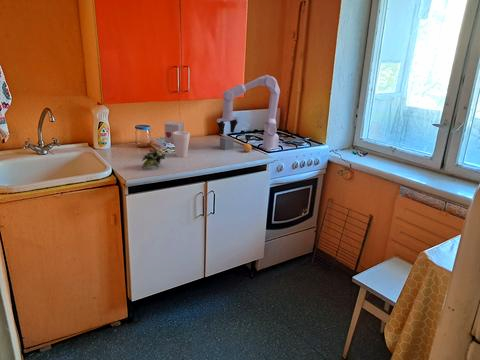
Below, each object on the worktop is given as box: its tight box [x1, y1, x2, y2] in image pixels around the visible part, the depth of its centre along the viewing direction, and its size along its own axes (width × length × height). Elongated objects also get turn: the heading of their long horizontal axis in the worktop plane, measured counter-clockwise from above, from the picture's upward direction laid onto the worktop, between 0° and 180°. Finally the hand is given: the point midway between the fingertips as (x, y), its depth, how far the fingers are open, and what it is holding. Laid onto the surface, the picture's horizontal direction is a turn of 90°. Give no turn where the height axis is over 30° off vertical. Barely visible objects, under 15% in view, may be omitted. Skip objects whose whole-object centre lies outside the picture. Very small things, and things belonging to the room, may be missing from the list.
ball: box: [242, 143, 253, 152], centre depth 227 cm, size 5×5×5 cm
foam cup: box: [173, 130, 191, 158], centre depth 213 cm, size 10×9×13 cm
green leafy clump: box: [141, 148, 166, 170], centre depth 192 cm, size 11×11×12 cm
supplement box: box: [164, 120, 185, 144], centre depth 229 cm, size 9×9×15 cm
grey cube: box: [219, 135, 235, 151], centre depth 233 cm, size 6×6×6 cm
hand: (227, 133), depth 230 cm, fingers open, 7 cm apart
